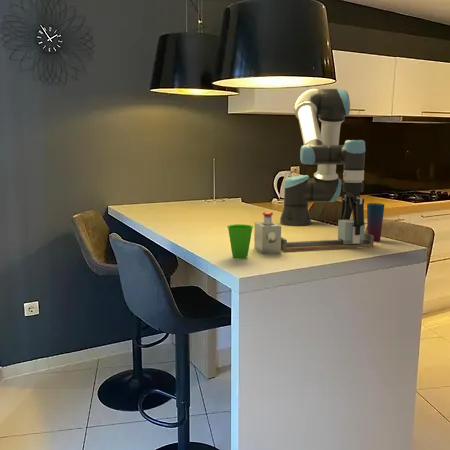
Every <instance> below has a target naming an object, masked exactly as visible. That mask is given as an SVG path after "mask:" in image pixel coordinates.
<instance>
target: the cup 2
mask: <svg viewBox="0 0 450 450" xmlns="http://www.w3.org/2000/svg"><path fill="white" fill-rule="evenodd" d="M384 213H385V203H382V202H368V203H366V214H367V215H366V216H367V217H366V220H367V222H366V227H367V228H366V229H367V230H366V231H367V232H366V233H367V234H370V235H373V236H374V241H378V242H381V237H382V228H383V222H384Z"/></svg>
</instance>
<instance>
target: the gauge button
mask: <svg viewBox="0 0 450 450" xmlns="http://www.w3.org/2000/svg"><path fill="white" fill-rule="evenodd" d="M262 215H263V222H264V225H271V223H272V222H273V221H272V216H273V212H272V211H263V212H262Z"/></svg>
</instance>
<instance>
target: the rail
mask: <svg viewBox="0 0 450 450" xmlns="http://www.w3.org/2000/svg"><path fill="white" fill-rule="evenodd" d="M357 247H367V248H374V236H373V235H370V234H367V232H365V233H364V240H363V244H343V240H338V239H329V240H328V239H326V240H324V239H323V240H322V239H321V240H305V241H304V240H303V241H288V239H286V238H284V237H282V236H281V252H284V253H287V252H304V251H305V252H306V251H307V252H308V251H325V249H328V250H342V249H341V248H348V249H358V248H357Z"/></svg>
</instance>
